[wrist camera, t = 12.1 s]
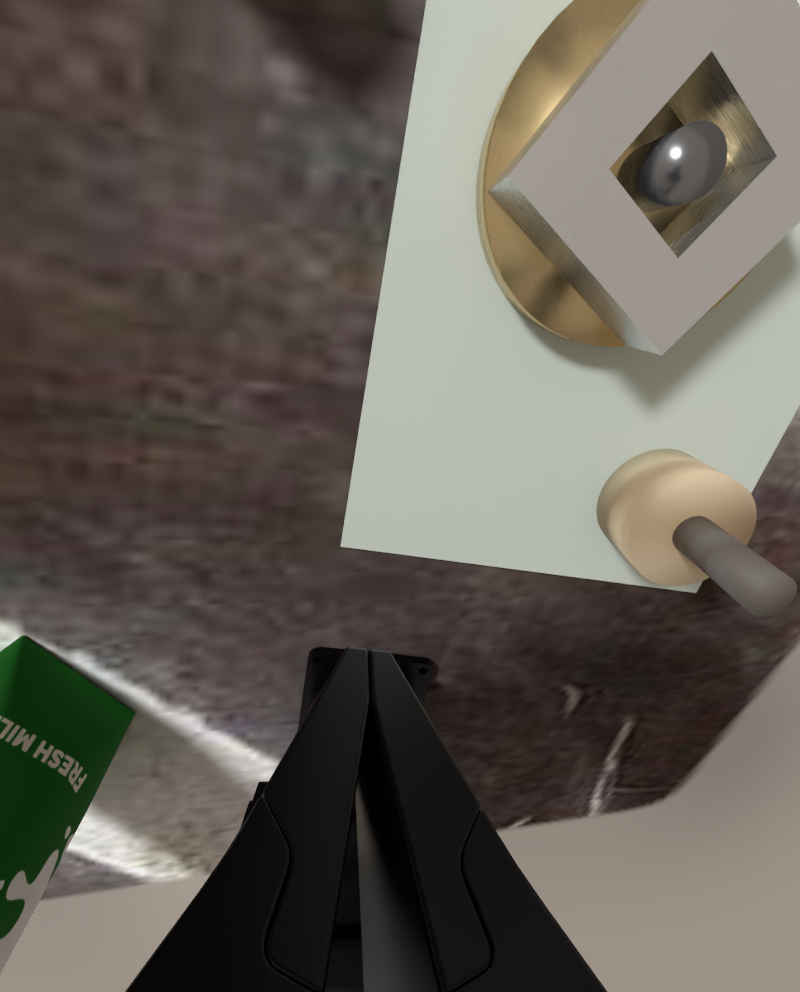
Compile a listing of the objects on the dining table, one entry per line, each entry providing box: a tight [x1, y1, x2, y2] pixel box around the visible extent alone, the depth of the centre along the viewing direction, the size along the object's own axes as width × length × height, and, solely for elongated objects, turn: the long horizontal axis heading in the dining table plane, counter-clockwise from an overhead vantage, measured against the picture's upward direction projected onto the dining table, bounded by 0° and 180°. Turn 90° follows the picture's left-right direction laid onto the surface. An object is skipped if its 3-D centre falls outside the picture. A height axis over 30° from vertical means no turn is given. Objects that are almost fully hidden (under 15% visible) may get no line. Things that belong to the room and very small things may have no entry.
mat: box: [341, 0, 800, 593], centre depth 18 cm, size 21×18×1 cm
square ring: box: [488, 0, 800, 355], centre depth 13 cm, size 7×7×2 cm
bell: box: [476, 0, 754, 347], centre depth 14 cm, size 10×10×4 cm
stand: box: [596, 449, 797, 617], centre depth 18 cm, size 5×5×7 cm
